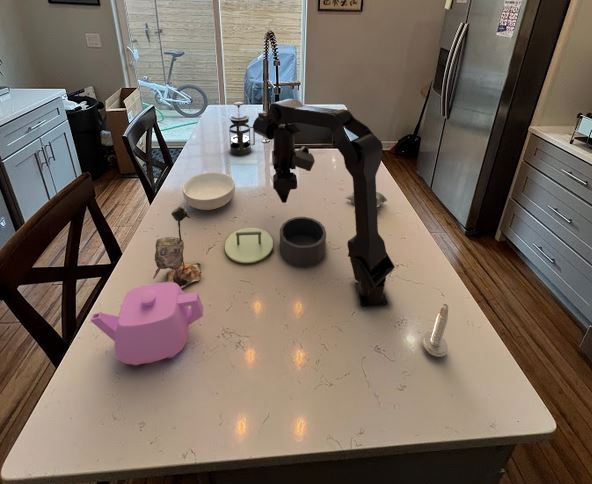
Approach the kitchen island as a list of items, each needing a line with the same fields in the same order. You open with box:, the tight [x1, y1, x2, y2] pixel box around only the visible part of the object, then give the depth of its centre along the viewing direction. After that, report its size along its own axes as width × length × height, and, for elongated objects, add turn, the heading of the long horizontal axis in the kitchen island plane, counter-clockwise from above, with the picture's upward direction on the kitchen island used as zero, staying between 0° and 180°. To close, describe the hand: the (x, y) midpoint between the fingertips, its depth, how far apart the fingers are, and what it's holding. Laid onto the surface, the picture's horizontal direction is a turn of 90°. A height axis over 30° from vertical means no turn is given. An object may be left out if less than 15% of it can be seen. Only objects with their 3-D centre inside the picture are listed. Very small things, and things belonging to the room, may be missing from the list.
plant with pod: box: [152, 206, 202, 289], centre depth 79 cm, size 8×11×20 cm
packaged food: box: [344, 191, 388, 208], centre depth 113 cm, size 9×12×5 cm
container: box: [279, 216, 327, 268], centre depth 92 cm, size 13×13×6 cm
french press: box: [228, 101, 256, 157], centre depth 143 cm, size 12×9×23 cm
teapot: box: [90, 281, 204, 366], centre depth 66 cm, size 20×12×13 cm, turn 104°
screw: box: [421, 303, 449, 358], centre depth 65 cm, size 13×5×5 cm
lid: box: [224, 227, 274, 264], centre depth 92 cm, size 14×14×5 cm
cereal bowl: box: [182, 171, 236, 211], centre depth 111 cm, size 17×17×7 cm
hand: (283, 193), depth 96 cm, fingers open, 9 cm apart
